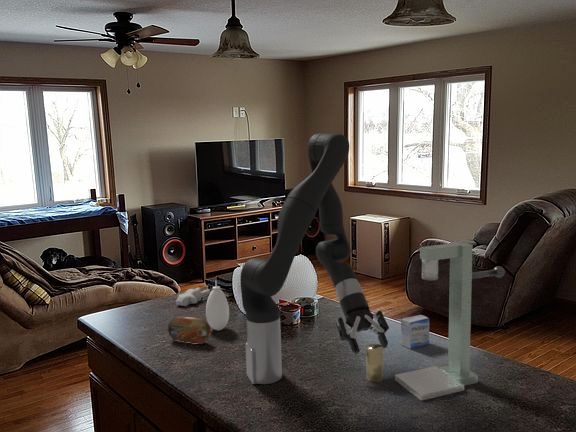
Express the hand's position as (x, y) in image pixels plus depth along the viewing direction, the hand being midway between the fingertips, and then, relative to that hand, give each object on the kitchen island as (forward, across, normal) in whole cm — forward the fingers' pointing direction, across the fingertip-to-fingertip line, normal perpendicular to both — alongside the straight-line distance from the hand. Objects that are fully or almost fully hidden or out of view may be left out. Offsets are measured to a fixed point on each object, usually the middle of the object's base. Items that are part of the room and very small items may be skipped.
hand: (371, 350), depth 141 cm
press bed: (+13, +19, -2) cm, 23 cm away
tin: (-27, -42, +37) cm, 62 cm away
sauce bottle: (-32, -31, +42) cm, 61 cm away
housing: (+7, 0, +4) cm, 8 cm away
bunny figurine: (-56, -34, +67) cm, 94 cm away
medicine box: (-4, +23, +15) cm, 27 cm away
